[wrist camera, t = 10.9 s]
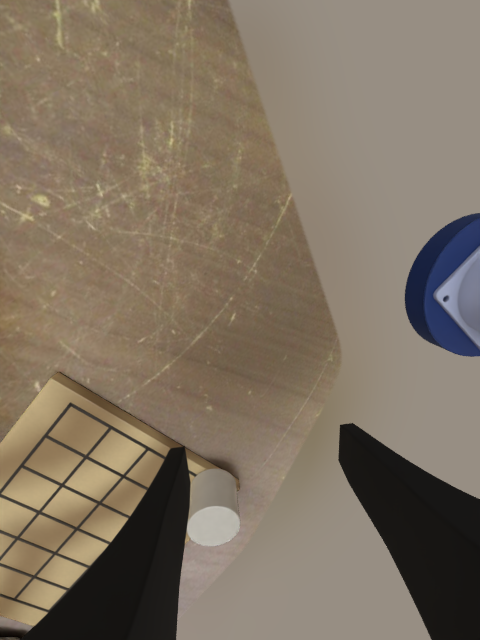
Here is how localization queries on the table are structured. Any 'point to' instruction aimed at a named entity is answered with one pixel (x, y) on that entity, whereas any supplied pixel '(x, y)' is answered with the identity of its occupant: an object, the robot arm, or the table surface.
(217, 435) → the table surface
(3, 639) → the rock
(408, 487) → the robot arm
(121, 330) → the table surface
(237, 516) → the grey short cylinder
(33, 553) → the board
